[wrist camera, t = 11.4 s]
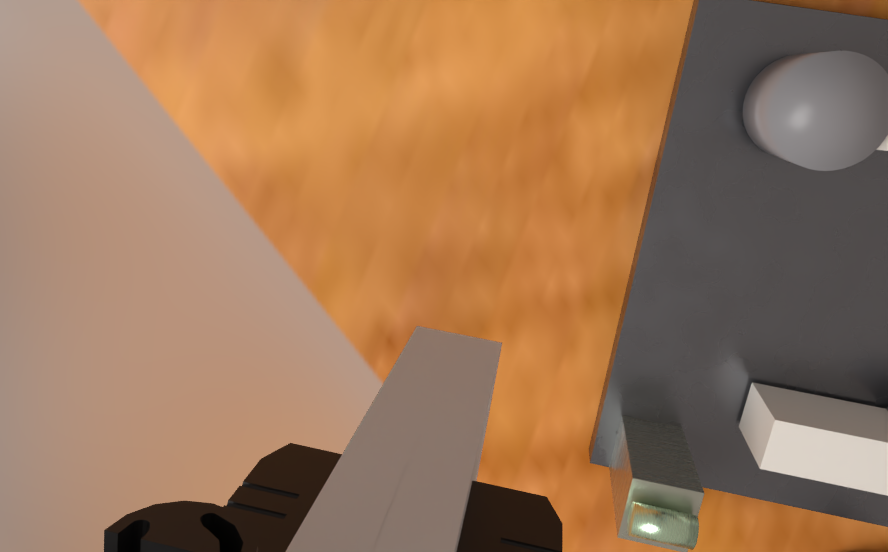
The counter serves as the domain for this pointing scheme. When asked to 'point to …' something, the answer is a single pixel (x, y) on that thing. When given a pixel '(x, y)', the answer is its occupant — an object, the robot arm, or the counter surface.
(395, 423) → the robot arm
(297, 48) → the counter surface
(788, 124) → the lever front
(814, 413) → the lever back
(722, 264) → the level base
